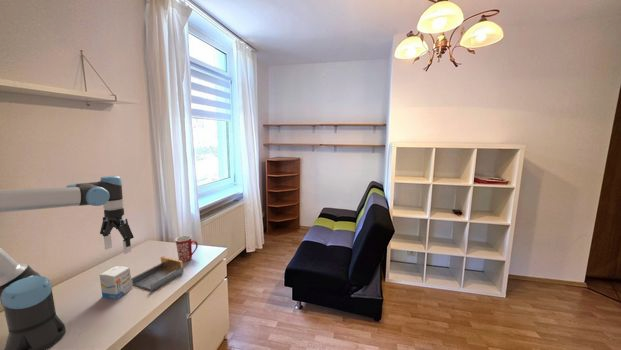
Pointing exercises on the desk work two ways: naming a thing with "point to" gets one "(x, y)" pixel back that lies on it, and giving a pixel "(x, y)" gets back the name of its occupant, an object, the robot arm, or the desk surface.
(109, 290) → the ink box
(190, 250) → the mug
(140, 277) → the grey open box
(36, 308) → the robot arm
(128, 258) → the desk surface
